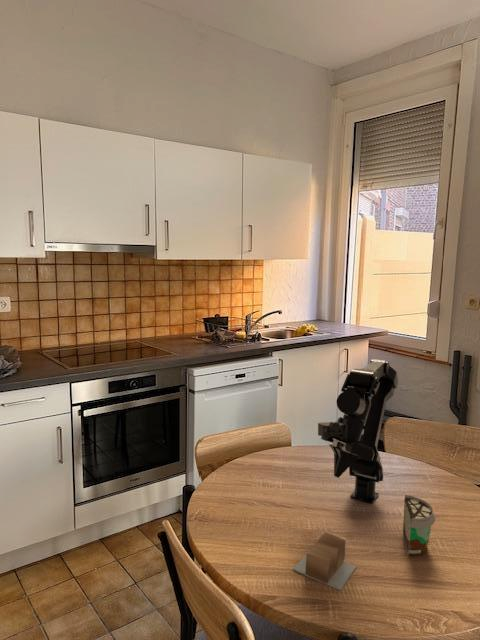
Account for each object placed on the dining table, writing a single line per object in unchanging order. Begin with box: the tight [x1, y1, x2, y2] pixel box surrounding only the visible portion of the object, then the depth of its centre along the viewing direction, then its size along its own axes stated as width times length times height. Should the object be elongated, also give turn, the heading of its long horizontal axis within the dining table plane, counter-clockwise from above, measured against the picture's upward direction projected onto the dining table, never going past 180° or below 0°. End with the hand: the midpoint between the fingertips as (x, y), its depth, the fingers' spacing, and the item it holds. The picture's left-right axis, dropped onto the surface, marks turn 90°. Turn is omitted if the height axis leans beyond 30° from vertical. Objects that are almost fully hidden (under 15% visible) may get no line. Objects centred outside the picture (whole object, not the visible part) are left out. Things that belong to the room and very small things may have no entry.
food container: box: [402, 494, 436, 558], centre depth 114 cm, size 12×6×10 cm, turn 168°
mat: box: [293, 554, 357, 591], centre depth 105 cm, size 9×11×1 cm
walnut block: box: [305, 531, 347, 584], centre depth 105 cm, size 5×5×10 cm
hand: (336, 476), depth 120 cm, fingers closed
